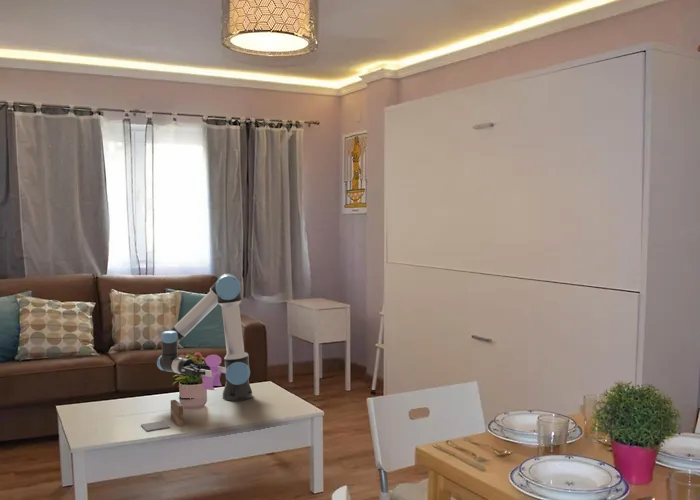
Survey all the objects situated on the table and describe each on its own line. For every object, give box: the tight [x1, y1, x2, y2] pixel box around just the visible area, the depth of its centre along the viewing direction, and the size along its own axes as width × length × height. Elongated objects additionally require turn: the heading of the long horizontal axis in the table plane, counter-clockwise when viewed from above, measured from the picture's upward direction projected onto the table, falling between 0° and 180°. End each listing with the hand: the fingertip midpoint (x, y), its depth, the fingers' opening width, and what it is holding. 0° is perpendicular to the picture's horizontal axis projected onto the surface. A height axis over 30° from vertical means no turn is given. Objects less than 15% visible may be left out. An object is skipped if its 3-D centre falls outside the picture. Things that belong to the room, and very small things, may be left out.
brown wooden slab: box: [170, 399, 184, 427], centre depth 297 cm, size 2×12×9 cm, turn 32°
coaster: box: [140, 420, 171, 432], centre depth 292 cm, size 10×10×1 cm
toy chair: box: [201, 354, 223, 391], centre depth 307 cm, size 8×9×15 cm
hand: (218, 372), depth 304 cm, fingers closed on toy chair, 8 cm apart
